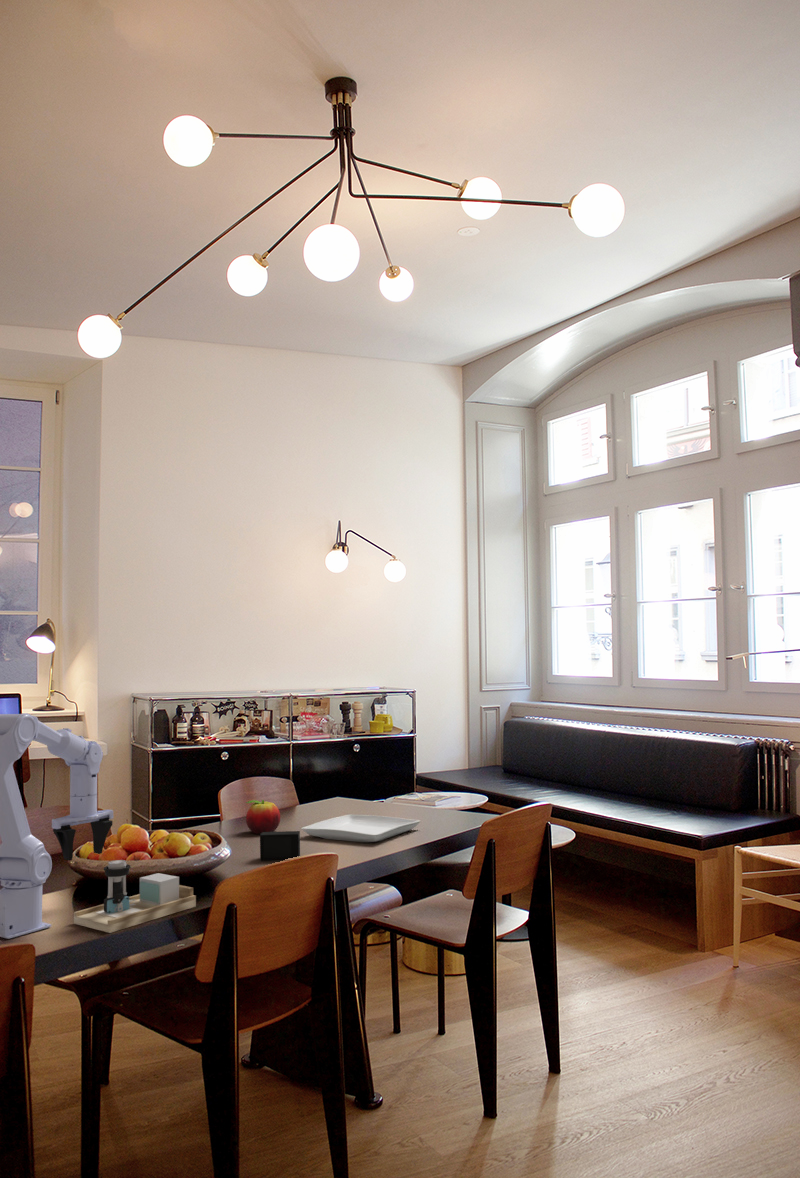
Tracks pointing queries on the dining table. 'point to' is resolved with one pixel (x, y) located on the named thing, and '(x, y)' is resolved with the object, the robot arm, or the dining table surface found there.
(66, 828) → the robot arm
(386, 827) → the square plate
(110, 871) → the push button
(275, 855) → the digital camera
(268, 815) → the fruit
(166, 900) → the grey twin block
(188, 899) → the beige tray
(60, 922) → the dining table surface
